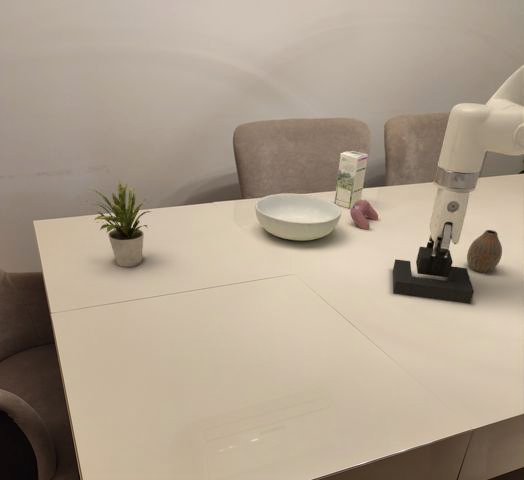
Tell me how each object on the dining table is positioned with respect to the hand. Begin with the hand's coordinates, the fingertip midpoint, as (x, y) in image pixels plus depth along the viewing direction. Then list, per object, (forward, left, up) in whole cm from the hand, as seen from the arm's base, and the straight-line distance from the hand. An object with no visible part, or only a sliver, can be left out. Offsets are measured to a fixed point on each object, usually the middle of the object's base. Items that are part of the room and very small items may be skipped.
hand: (432, 267), depth 102 cm
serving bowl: (+31, -19, -4) cm, 37 cm away
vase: (-12, -11, -4) cm, 17 cm away
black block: (0, 0, -1) cm, 1 cm away
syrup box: (+20, -46, -4) cm, 51 cm away
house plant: (+64, +8, -4) cm, 64 cm away
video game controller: (+15, -32, -4) cm, 36 cm away
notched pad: (0, +2, -4) cm, 4 cm away
